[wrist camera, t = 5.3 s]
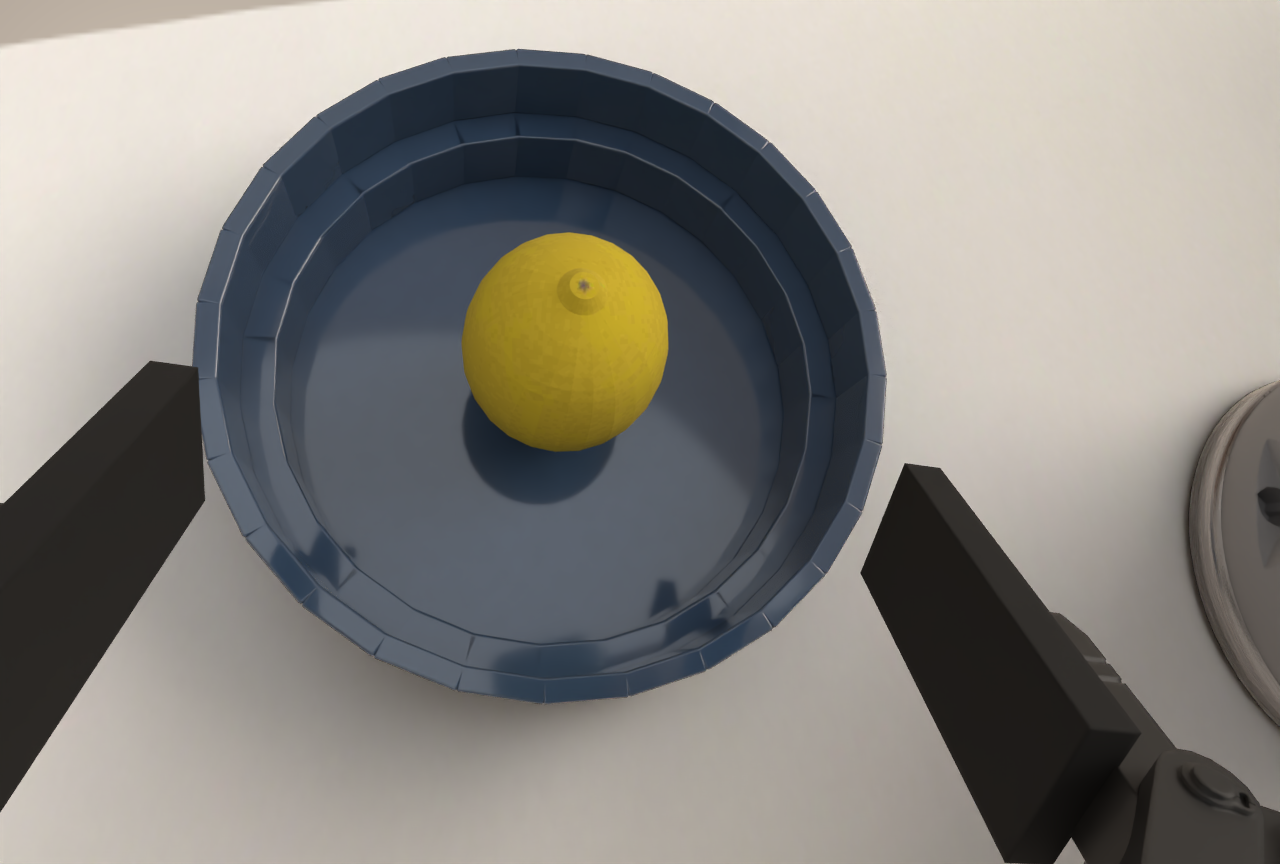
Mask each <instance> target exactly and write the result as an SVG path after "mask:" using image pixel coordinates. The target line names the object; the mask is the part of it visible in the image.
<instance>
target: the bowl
mask: <svg viewBox="0 0 1280 864" xmlns="http://www.w3.org/2000/svg"><path fill="white" fill-rule="evenodd" d="M222 229H223V230H221V231H220V234H219V237H218V240H217V242H216V245H215V248H214V251H213V254H212V257H211V260H210V263H209V266H208V269H207V272H206V275H205V278H204V281H203V284H202V287H201V290H200V293H199V296H198V299H197V300H198V302H197V304H196V315H195V330H194V344H193V359H192V367H198V373H199V393H200V412H201V432H202V440H203V445H204V450H205V455H206V459H207V460H208V461H207V463H208V465H209V467H210V470H211V472H212V474H213V476H214V478H215V480H216V482H217V484H218V486H219V488H220V490H221V492H222V494H223V496H224V499H225V501H226V503H227V505H228V507H229V509H230V511H231V513H232V515H233V517H234V519H235V521H236V523H237V525H238V528H239V530H240V532H241V534H242V536H243V537H245V540H246V541H247V543H248V544H249V545H250V546H251V547H252V548H253V550H254V551H255V552H256V553H257V554H258V556H259V557H260V558H261V559H262V560H263V562H264V563H265V564H266V565H267V566H268V567H269V569H270V570H271V571H272V572H273V573H274V575H275V576H276V577H277V578H278V579H279V581H280V582H281V583H282V584H283V585H284V586H285V588H286V589H287V590H288V591H289V592H290V594H291V595H292V596H293V597H294V598H295V599H296V601H297V602H298V603H300V604H302V606H303V608H305V609H306V610H308V611H309V612H310V613H312V614H313V615H315V616H316V617H317V618H319V619H320V620H321V621H323V622H324V623H326V624H327V625H328V626H330V627H331V628H333V629H334V630H335V631H337V632H338V633H339V634H341V635H342V636H344V637H345V638H346V639H348V640H349V641H351V642H352V643H353V644H355V645H356V646H357V647H359V648H360V649H362V650H363V651H364V652H366V653H367V654H369V655H370V656H374V658H375V659H378V660H380V661H383V662H385V663H387V664H390V665H392V666H395V667H397V668H400V669H402V670H405V671H407V672H410V673H412V674H415V675H417V676H419V677H422V678H424V679H427V680H429V681H432V682H434V683H437V684H439V685H442V686H444V687H447V688H449V689H451V690H457V691H458V692H464V693H470V694H477V695H484V696H490V697H497V698H503V699H510V700H517V701H523V702H530V703H537V704H556V703H567V702H579V701H591V700H602V699H614V698H625V697H628V696H634V695H637V694H640V693H643V692H646V691H649V690H652V689H655V688H658V687H661V686H664V685H667V684H670V683H673V682H676V681H679V680H682V679H685V678H688V677H691V676H694V675H697V674H700V673H703V672H705V671H706V670H709V669H711V668H713V667H714V666H716V665H717V664H719V663H721V662H722V661H724V660H725V659H727V658H728V657H730V656H732V655H733V654H735V653H736V652H738V651H740V650H741V649H743V648H744V647H746V646H747V645H749V644H751V643H752V642H754V641H755V640H757V639H759V638H760V637H762V636H763V635H765V634H766V633H768V632H770V631H771V630H772V629H773V628H774V627H776V626H777V625H778V624H779V623H780V622H781V621H782V620H783V619H784V618H785V617H786V616H787V615H788V614H789V613H790V612H791V611H792V609H793V608H794V607H795V606H796V605H797V604H798V603H799V602H800V601H801V600H802V599H803V598H804V597H805V596H806V595H807V594H808V593H809V592H810V591H811V590H812V589H813V588H814V587H815V586H816V585H817V584H818V583H819V581H820V580H821V579H822V578H823V577H824V576H825V574H827V573H828V571H829V569H830V567H831V566H832V564H833V562H834V561H835V559H836V557H837V555H838V554H839V552H840V550H841V549H842V547H843V545H844V543H845V542H846V540H847V538H848V537H849V535H850V533H851V531H852V530H853V528H854V526H855V524H856V523H857V521H858V519H859V518H860V516H861V514H862V511H863V508H864V505H865V502H866V498H867V495H868V492H869V488H870V485H871V482H872V478H873V475H874V472H875V468H876V465H877V462H878V458H879V455H880V452H881V448H882V443H883V429H884V413H885V397H886V381H887V379H886V369H885V362H884V356H883V350H882V343H881V337H880V331H879V324H878V318H877V312H876V311H875V306H874V303H873V300H872V298H871V295H870V292H869V290H868V287H867V285H866V282H865V279H864V277H863V274H862V272H861V269H860V266H859V264H858V261H857V259H856V256H855V253H854V251H853V249H852V246H851V244H850V243H849V241H848V240H847V238H846V236H845V235H844V233H843V232H842V230H841V229H840V227H839V225H838V224H837V222H836V221H835V219H834V218H833V216H832V214H831V213H830V211H829V210H828V208H827V207H826V205H825V203H824V202H823V200H822V199H821V197H820V196H819V194H818V192H816V190H815V189H814V188H813V186H812V185H811V184H810V183H809V182H808V181H807V180H806V179H805V178H804V177H803V176H802V175H801V174H800V173H799V172H798V171H797V170H796V168H795V167H794V166H793V165H792V164H791V163H790V162H789V161H788V160H787V159H786V158H785V157H784V156H783V155H782V154H781V153H780V152H779V150H778V149H777V148H776V147H775V146H774V145H773V144H772V143H771V142H770V143H769V141H768V140H767V139H765V138H764V137H763V136H761V135H760V134H758V133H757V132H756V131H754V130H753V129H752V128H750V127H749V126H747V125H746V124H745V123H743V122H742V121H741V120H739V119H738V118H736V117H735V116H734V115H732V114H731V113H730V112H728V111H727V110H725V109H724V108H723V107H721V106H720V105H719V104H717V103H714V102H713V101H712V100H710V99H708V98H706V97H704V96H701V95H699V94H697V93H695V92H693V91H691V90H689V89H687V88H685V87H683V86H681V85H678V84H676V83H674V82H672V81H670V80H668V79H666V78H664V77H662V76H660V75H657V74H655V73H653V74H652V72H650V71H647V70H643V69H639V68H636V67H632V66H628V65H624V64H621V63H617V62H613V61H609V60H606V59H602V58H598V57H595V56H591V55H585V54H578V53H565V52H552V51H539V50H526V49H517V50H515V49H512V50H503V51H494V52H486V53H477V54H468V55H460V56H451V57H447V59H446V58H445V57H444V58H441V59H437V60H434V61H431V62H428V63H425V64H422V65H419V66H416V67H413V68H410V69H407V70H404V71H401V72H398V73H395V74H391V75H388V76H385V77H382V78H379V81H378V80H376V81H374V82H372V83H371V84H369V85H367V86H365V87H364V88H362V89H360V90H359V91H357V92H355V93H353V94H352V95H350V96H348V97H347V98H345V99H343V100H341V101H340V102H338V103H336V104H335V105H333V106H331V107H329V108H328V109H326V110H324V111H323V112H321V113H319V114H318V115H317V116H316V117H313V118H312V119H311V120H310V121H309V122H308V123H307V124H306V125H305V126H304V127H303V128H302V129H301V130H300V131H298V132H297V133H296V134H295V135H294V136H293V137H292V138H291V139H290V140H289V141H288V142H287V143H286V144H285V145H284V146H282V147H281V148H280V149H279V150H278V151H277V152H276V153H275V154H274V155H273V156H272V157H271V158H270V159H269V160H268V161H266V162H265V163H264V165H263V167H261V168H260V170H259V171H258V173H257V174H256V176H255V177H254V179H253V181H252V182H251V184H250V185H249V187H248V188H247V190H246V191H245V193H244V194H243V196H242V197H241V199H240V200H239V202H238V204H237V205H236V207H235V208H234V210H233V211H232V213H231V214H230V216H229V217H228V219H227V220H226V222H225V223H224V225H223V227H222ZM568 232H570V233H578V234H585V235H592V236H595V237H597V238H600V239H603V240H605V241H608V242H611V243H613V244H615V245H616V246H618V247H619V248H621V249H622V250H624V251H625V252H627V253H629V254H630V255H632V256H633V257H634V259H635V260H636V261H637V262H638V263H639V264H640V265H641V266H642V267H643V268H644V269H645V270H646V271H647V272H648V274H649V276H650V277H651V279H652V281H653V283H654V284H655V286H656V288H657V289H658V291H659V293H660V295H661V299H662V302H663V305H664V309H665V312H666V315H667V321H668V355H667V359H666V363H665V368H664V372H663V376H662V380H661V383H660V385H659V387H658V389H657V390H656V392H655V394H654V396H653V398H652V400H651V401H650V403H649V405H648V407H647V408H646V410H645V411H644V412H643V413H642V414H641V415H640V416H639V417H638V418H637V419H636V420H635V421H634V422H633V423H632V424H631V425H630V426H629V427H628V428H627V429H626V430H625V431H623V432H622V433H620V434H618V435H617V436H615V437H613V438H612V439H610V440H608V441H607V442H605V443H603V444H600V445H597V446H593V447H590V448H587V449H583V450H580V451H560V452H554V451H549V450H544V449H539V448H535V447H530V446H528V445H526V444H524V443H522V442H520V441H518V440H516V439H514V438H512V437H510V436H508V435H507V434H506V433H504V432H503V431H502V430H501V429H500V428H499V427H497V426H496V425H495V424H494V423H493V422H491V421H490V420H489V418H488V417H487V415H486V414H485V413H484V411H483V410H482V408H481V407H480V406H479V404H478V403H477V402H476V400H475V399H474V396H473V394H472V391H471V388H470V386H469V383H468V381H467V378H466V376H465V372H464V364H463V354H462V343H461V342H462V335H463V329H464V324H465V318H466V313H467V310H468V307H469V305H470V303H471V301H472V299H473V297H474V295H475V293H476V290H477V288H478V286H479V284H480V283H481V281H482V279H483V278H484V277H485V276H486V275H487V273H488V272H489V271H490V270H491V269H492V268H493V267H494V266H495V264H496V263H497V262H498V261H499V260H500V259H501V258H502V257H503V256H504V255H506V254H507V253H509V252H510V251H512V250H513V249H515V248H517V247H518V246H520V245H521V244H523V243H525V242H527V241H530V240H533V239H536V238H538V237H541V236H544V235H547V234H557V233H568Z"/></svg>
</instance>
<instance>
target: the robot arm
mask: <svg viewBox="0 0 1280 864" xmlns="http://www.w3.org/2000/svg"><path fill="white" fill-rule="evenodd" d="M204 501H205V491H204V471H203V452H202V432H201V412H200V393H199V373H198V367H192V366H185V365H177V364H170V363H163V362H155V361H149V362H148V363H147V364H146V365H145V366H144V367H143V368H142V369H141V370H140V371H139V372H138V373H137V374H136V375H135V376H134V377H133V378H132V379H131V380H130V381H129V382H128V383H127V384H126V385H125V386H124V387H123V388H122V389H121V390H120V391H119V392H118V393H117V394H116V395H115V396H114V397H113V398H112V399H110V400H109V401H108V402H107V403H106V404H105V405H104V406H103V407H102V408H101V409H100V410H99V411H98V412H97V413H96V414H95V415H94V416H93V417H92V418H91V419H90V420H89V421H88V422H87V423H86V424H85V425H84V426H83V427H82V428H81V429H80V430H79V431H78V432H77V433H76V434H75V435H74V436H73V437H72V438H71V439H69V440H68V441H67V442H66V443H65V444H64V445H63V446H62V447H61V448H60V449H59V450H58V451H57V452H56V453H55V454H54V455H53V456H52V457H51V458H50V459H49V460H48V461H47V462H46V463H45V464H44V465H43V466H42V467H41V468H40V469H39V470H38V471H37V472H36V473H35V474H34V475H33V476H32V477H31V478H30V479H28V480H27V481H26V482H25V483H24V484H23V485H22V486H21V487H20V488H19V489H18V490H17V491H16V492H15V493H14V494H13V495H12V496H11V497H10V498H9V499H8V500H7V501H6V502H5V503H0V812H1V811H2V809H3V807H4V806H5V804H6V803H7V801H8V800H9V798H10V797H11V795H12V794H13V792H14V791H15V789H16V788H17V786H18V785H19V783H20V782H21V780H22V779H23V777H24V775H25V774H26V772H27V771H28V769H29V768H30V766H31V765H32V763H33V762H34V760H35V759H36V757H37V756H38V754H39V753H40V751H41V750H42V748H43V746H44V745H45V743H46V742H47V740H48V739H49V737H50V736H51V734H52V733H53V731H54V730H55V728H56V727H57V725H58V724H59V722H60V721H61V719H62V718H63V716H64V714H65V713H66V711H67V710H68V708H69V707H70V705H71V704H72V702H73V701H74V699H75V698H76V696H77V695H78V693H79V692H80V690H81V689H82V687H83V686H84V684H85V682H86V681H87V679H88V678H89V676H90V675H91V673H92V672H93V670H94V669H95V667H96V666H97V664H98V663H99V661H100V660H101V658H102V657H103V655H104V654H105V652H106V650H107V649H108V647H109V646H110V644H111V643H112V641H113V640H114V638H115V637H116V635H117V634H118V632H119V631H120V629H121V628H122V626H123V625H124V623H125V621H126V620H127V618H128V617H129V615H130V614H131V612H132V611H133V609H134V608H135V606H136V605H137V603H138V602H139V600H140V599H141V597H142V596H143V594H144V593H145V591H146V589H147V588H148V586H149V585H150V583H151V582H152V580H153V579H154V577H155V576H156V574H157V573H158V571H159V570H160V568H161V567H162V565H163V564H164V562H165V561H166V559H167V557H168V556H169V554H170V553H171V551H172V550H173V548H174V547H175V545H176V544H177V542H178V541H179V539H180V538H181V536H182V535H183V533H184V532H185V530H186V529H187V527H188V525H189V524H190V522H191V521H192V519H193V518H194V516H195V515H196V513H197V512H198V510H199V509H200V507H201V506H202V504H203V503H204ZM1189 534H1190V546H1191V555H1192V561H1193V567H1194V573H1195V577H1196V581H1197V585H1198V589H1199V593H1200V596H1201V599H1202V602H1203V605H1204V608H1205V611H1206V614H1207V617H1208V619H1209V622H1210V624H1211V626H1212V629H1213V631H1214V634H1215V636H1216V638H1217V640H1218V642H1219V644H1220V646H1221V648H1222V650H1223V652H1224V654H1225V656H1226V658H1227V659H1228V661H1229V663H1230V664H1231V666H1232V668H1233V669H1234V671H1235V673H1236V674H1237V676H1238V677H1239V679H1240V680H1241V682H1242V683H1243V685H1244V686H1245V687H1246V689H1247V690H1248V692H1249V693H1250V694H1251V696H1252V697H1253V698H1254V699H1255V701H1256V702H1257V703H1258V704H1259V705H1260V707H1261V708H1262V709H1263V710H1264V711H1265V713H1266V714H1267V715H1268V716H1269V717H1270V718H1271V719H1272V720H1273V721H1274V722H1275V723H1276V724H1277V725H1278V726H1279V727H1280V380H1278V381H1276V382H1273V383H1270V384H1268V385H1266V386H1263V387H1261V388H1259V389H1257V390H1255V391H1253V392H1252V393H1250V394H1248V395H1246V396H1245V397H1244V398H1243V399H1241V400H1240V401H1239V402H1237V403H1236V404H1235V405H1234V406H1233V407H1232V408H1231V409H1230V410H1229V411H1228V412H1227V413H1226V414H1225V415H1224V416H1223V417H1222V419H1221V420H1220V421H1219V423H1218V424H1217V425H1216V427H1215V428H1214V430H1213V431H1212V433H1211V435H1210V437H1209V438H1208V440H1207V442H1206V444H1205V446H1204V449H1203V451H1202V453H1201V456H1200V458H1199V462H1198V465H1197V468H1196V471H1195V475H1194V480H1193V485H1192V490H1191V499H1190V509H1189ZM861 575H862V577H863V579H864V581H865V583H866V585H867V587H868V589H869V591H870V593H871V595H872V597H873V599H874V601H875V603H876V605H877V607H878V609H879V611H880V613H881V615H882V617H883V619H884V621H885V623H886V625H887V627H888V629H889V631H890V633H891V635H892V637H893V639H894V641H895V643H896V645H897V647H898V649H899V651H900V653H901V655H902V657H903V659H904V661H905V663H906V665H907V667H908V669H909V671H910V673H911V675H912V677H913V679H914V681H915V683H916V685H917V687H918V689H919V691H920V693H921V695H922V697H923V699H924V701H925V703H926V705H927V707H928V709H929V711H930V713H931V715H932V717H933V719H934V721H935V723H936V725H937V727H938V729H939V731H940V733H941V735H942V737H943V739H944V741H945V743H946V745H947V747H948V749H949V751H950V753H951V755H952V757H953V759H954V761H955V763H956V765H957V767H958V769H959V771H960V773H961V775H962V777H963V779H964V781H965V783H966V785H967V787H968V789H969V791H970V793H971V795H972V797H973V799H974V801H975V803H976V805H977V807H978V809H979V811H980V813H981V815H982V817H983V819H984V821H985V824H986V826H987V828H988V830H989V832H990V834H991V836H992V838H993V840H994V842H995V844H996V846H997V848H998V850H999V852H1000V854H1001V856H1002V858H1003V860H1004V862H1005V863H1020V864H1054V862H1055V861H1056V859H1057V858H1058V856H1059V855H1060V853H1061V852H1062V850H1063V849H1064V847H1065V846H1066V844H1067V843H1068V841H1069V840H1070V838H1071V837H1072V839H1073V841H1074V842H1075V844H1076V846H1077V847H1078V849H1079V851H1080V852H1081V854H1082V856H1083V858H1084V859H1085V862H1084V864H1280V812H1278V811H1275V810H1272V809H1269V808H1266V807H1263V806H1260V804H1259V802H1258V801H1257V800H1256V798H1255V797H1254V796H1253V794H1252V793H1251V792H1250V790H1249V789H1248V787H1246V786H1245V785H1244V784H1243V783H1242V782H1241V781H1240V780H1239V779H1238V778H1237V777H1235V776H1234V775H1233V774H1232V773H1231V772H1230V771H1228V770H1226V769H1225V768H1223V767H1222V766H1220V765H1219V764H1217V763H1216V762H1214V761H1212V760H1211V759H1209V758H1206V757H1204V756H1201V755H1199V754H1197V753H1194V752H1192V751H1187V750H1181V749H1177V748H1176V747H1175V746H1174V745H1173V743H1172V742H1171V741H1170V740H1169V738H1168V737H1167V736H1166V735H1165V733H1164V732H1163V731H1162V729H1161V728H1160V727H1159V726H1158V724H1157V723H1156V722H1155V721H1154V719H1153V718H1152V717H1151V716H1150V714H1149V713H1148V712H1147V711H1146V709H1145V708H1144V707H1143V705H1142V704H1141V703H1140V702H1139V700H1138V699H1137V698H1136V697H1135V695H1134V694H1133V693H1132V692H1131V690H1130V689H1129V688H1128V686H1127V685H1126V684H1123V683H1121V678H1120V676H1119V675H1118V674H1117V673H1116V671H1115V670H1114V669H1113V667H1112V666H1111V665H1110V664H1106V659H1105V657H1104V656H1103V655H1102V654H1101V652H1100V651H1099V650H1098V648H1097V647H1096V646H1095V645H1094V643H1093V642H1092V641H1091V640H1090V638H1089V637H1088V636H1087V635H1086V634H1085V633H1083V632H1082V631H1081V630H1080V629H1079V628H1077V627H1076V626H1075V625H1074V624H1072V623H1071V622H1070V621H1069V620H1067V619H1066V618H1065V617H1064V616H1062V615H1061V614H1059V613H1050V612H1049V610H1048V609H1047V608H1046V606H1045V605H1044V604H1043V603H1042V601H1041V600H1040V599H1039V597H1038V596H1037V595H1036V593H1035V592H1034V591H1033V589H1032V588H1031V587H1030V585H1029V584H1028V583H1027V582H1026V580H1025V579H1024V578H1023V576H1022V575H1021V574H1020V572H1019V571H1018V570H1017V568H1016V567H1015V566H1014V564H1013V563H1012V562H1011V560H1010V559H1009V558H1008V557H1007V555H1006V554H1005V553H1004V551H1003V550H1002V549H1001V547H1000V546H999V545H998V543H997V542H996V541H995V539H994V538H993V537H992V536H991V534H990V533H989V532H988V530H987V529H986V528H985V526H984V525H983V524H982V522H981V521H980V520H979V518H978V517H977V516H976V515H975V513H974V512H973V511H972V509H971V508H970V507H969V505H968V504H967V503H966V501H965V500H964V499H963V497H962V496H961V495H960V493H959V492H958V491H957V490H956V488H955V487H954V486H953V484H952V483H951V482H950V480H949V479H948V478H947V476H946V475H945V474H944V472H943V471H942V470H941V469H940V468H936V467H928V466H921V465H914V464H906V463H905V464H904V467H903V469H902V471H901V474H900V476H899V479H898V481H897V484H896V486H895V489H894V491H893V494H892V496H891V499H890V501H889V504H888V506H887V509H886V511H885V514H884V516H883V518H882V521H881V523H880V526H879V528H878V531H877V533H876V536H875V538H874V541H873V543H872V546H871V548H870V551H869V553H868V556H867V558H866V560H865V563H864V565H863V568H862V570H861Z"/></svg>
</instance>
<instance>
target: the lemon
mask: <svg viewBox="0 0 1280 864" xmlns="http://www.w3.org/2000/svg"><path fill="white" fill-rule="evenodd" d="M461 343H462V354H463V364H464V372H465V376H466V378H467V381H468V383H469V386H470V388H471V391H472V394H473V396H474V399H475V400H476V402H477V403H478V404H479V406H480V407H481V408H482V410H483V411H484V413H485V414H486V415H487V417H488V418H489V420H490V421H491V422H493V423H494V424H495V425H496V426H497V427H499V428H500V429H501V430H502V431H503V432H504V433H506V434H507V435H508V436H510V437H512V438H514V439H516V440H518V441H520V442H522V443H524V444H526V445H528V446H530V447H535V448H539V449H544V450H549V451H554V452H560V451H580V450H583V449H587V448H590V447H593V446H597V445H600V444H603V443H605V442H607V441H608V440H610V439H612V438H613V437H615V436H617V435H618V434H620V433H622V432H623V431H625V430H626V429H627V428H628V427H629V426H630V425H631V424H632V423H633V422H634V421H635V420H636V419H637V418H638V417H639V416H640V415H641V414H642V413H643V412H644V411H645V410H646V408H647V407H648V405H649V403H650V401H651V400H652V398H653V396H654V394H655V392H656V390H657V389H658V387H659V385H660V383H661V380H662V376H663V372H664V368H665V363H666V359H667V355H668V321H667V315H666V312H665V309H664V305H663V302H662V299H661V295H660V293H659V291H658V289H657V288H656V286H655V284H654V283H653V281H652V279H651V277H650V276H649V274H648V272H647V271H646V270H645V269H644V268H643V267H642V266H641V265H640V264H639V263H638V262H637V261H636V260H635V259H634V257H633V256H632V255H630V254H629V253H627V252H625V251H624V250H622V249H621V248H619V247H618V246H616V245H615V244H613V243H611V242H608V241H605V240H603V239H600V238H597V237H595V236H592V235H585V234H578V233H570V232H568V233H557V234H547V235H544V236H541V237H538V238H536V239H533V240H530V241H527V242H525V243H523V244H521V245H520V246H518V247H517V248H515V249H513V250H512V251H510V252H509V253H507V254H506V255H504V256H503V257H502V258H501V259H500V260H499V261H498V262H497V263H496V264H495V266H494V267H493V268H492V269H491V270H490V271H489V272H488V273H487V275H486V276H485V277H484V278H483V279H482V281H481V283H480V284H479V286H478V288H477V290H476V293H475V295H474V297H473V299H472V301H471V303H470V305H469V307H468V310H467V313H466V318H465V324H464V329H463V335H462V342H461Z"/></svg>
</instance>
